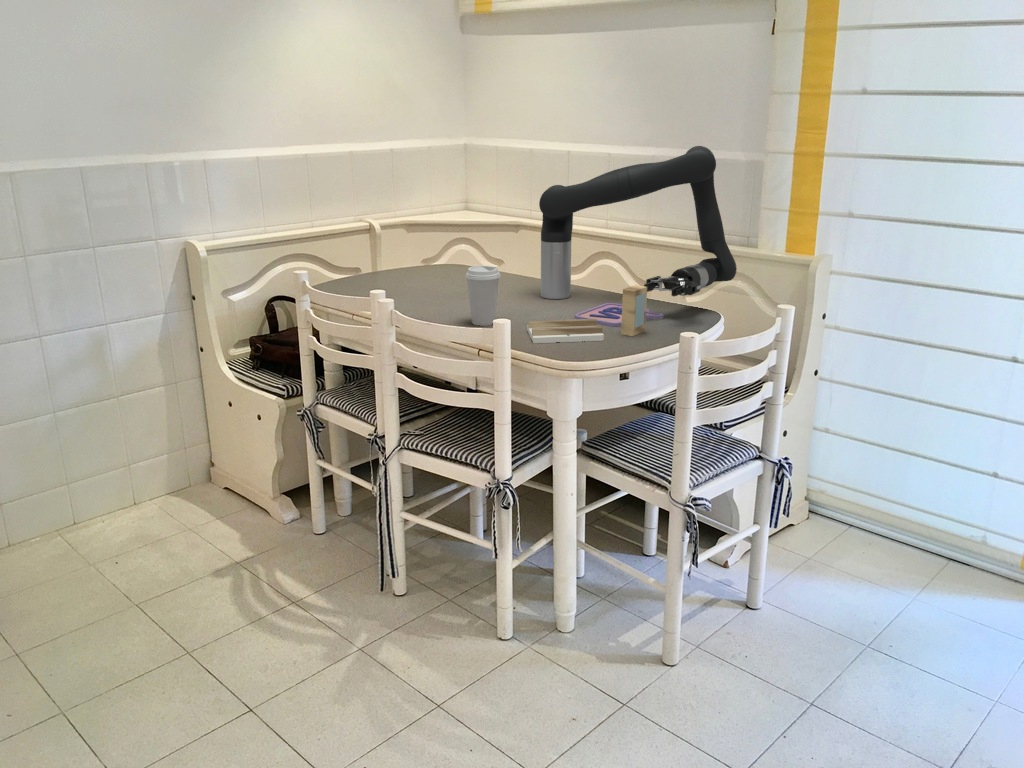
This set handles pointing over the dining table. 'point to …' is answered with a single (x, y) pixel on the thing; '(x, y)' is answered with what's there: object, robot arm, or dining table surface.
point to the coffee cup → (483, 293)
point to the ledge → (565, 331)
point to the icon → (610, 314)
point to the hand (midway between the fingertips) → (658, 290)
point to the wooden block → (634, 310)
